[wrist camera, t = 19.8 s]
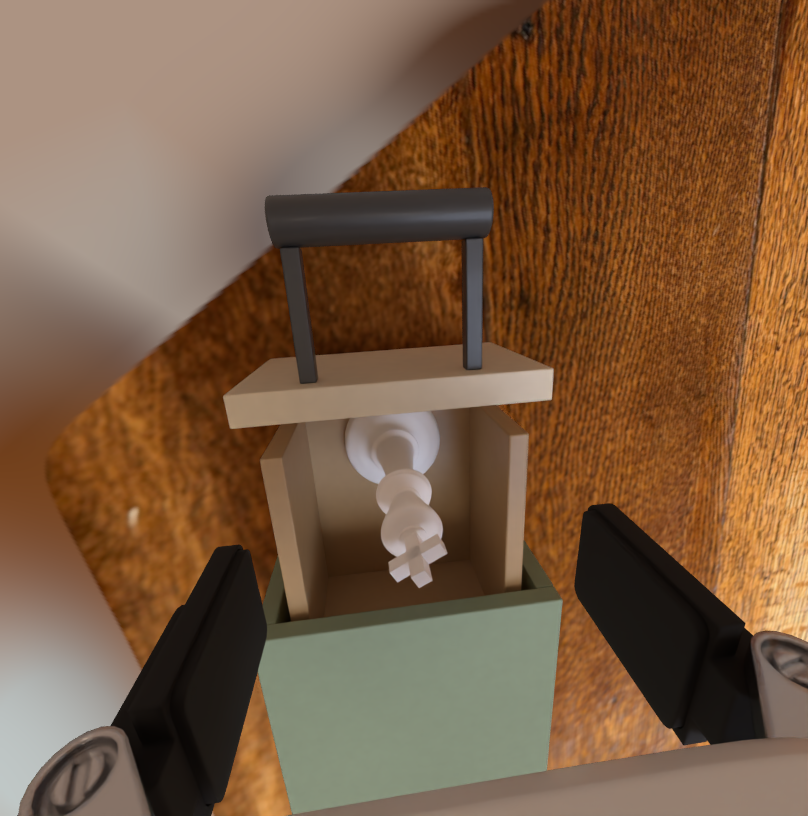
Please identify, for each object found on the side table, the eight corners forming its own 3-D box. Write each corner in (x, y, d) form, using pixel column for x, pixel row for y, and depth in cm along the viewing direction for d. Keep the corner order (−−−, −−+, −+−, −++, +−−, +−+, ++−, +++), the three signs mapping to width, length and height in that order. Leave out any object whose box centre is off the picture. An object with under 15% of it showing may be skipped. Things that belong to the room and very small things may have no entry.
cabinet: (289, 515, 23) (249, 643, 14) (493, 492, 24) (563, 599, 16) (320, 689, 27) (303, 862, 19) (490, 663, 28) (543, 816, 20)
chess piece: (455, 450, 20) (538, 593, 11) (377, 496, 21) (392, 675, 11) (408, 374, 19) (457, 463, 9) (325, 426, 19) (290, 563, 10)
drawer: (247, 228, 17) (178, 191, 10) (493, 217, 18) (567, 177, 11) (306, 577, 23) (285, 689, 17) (488, 554, 24) (535, 652, 18)
